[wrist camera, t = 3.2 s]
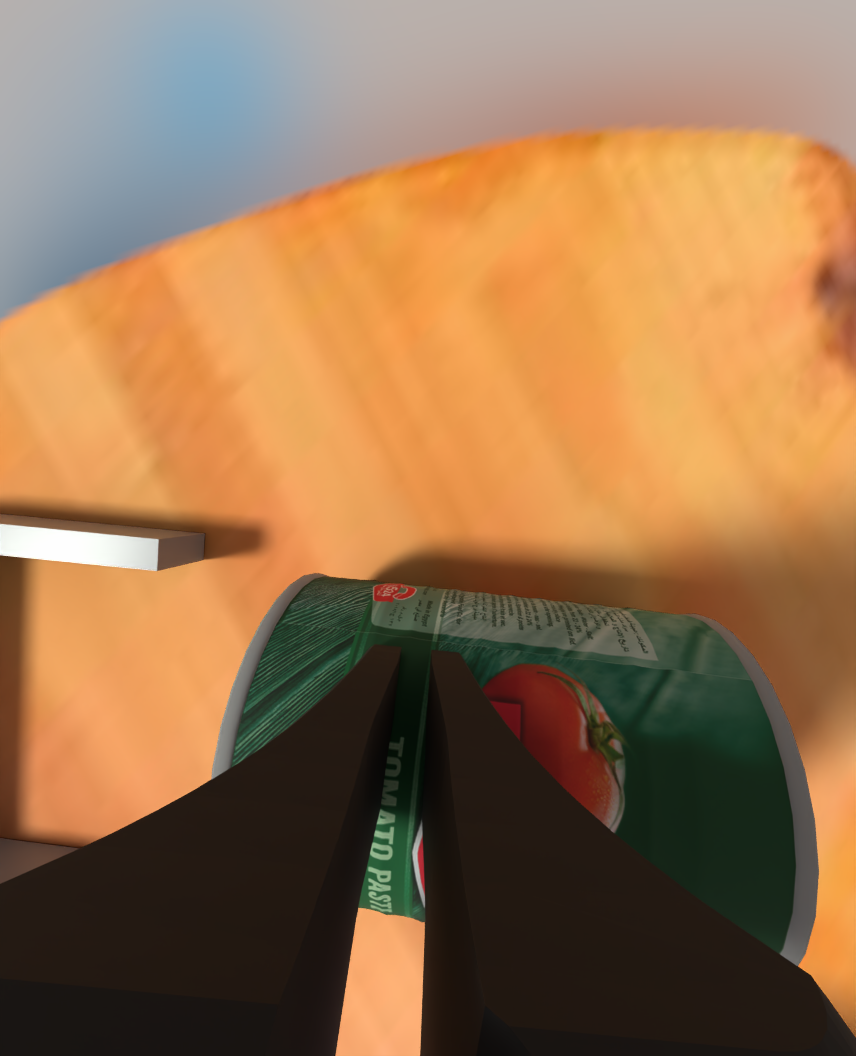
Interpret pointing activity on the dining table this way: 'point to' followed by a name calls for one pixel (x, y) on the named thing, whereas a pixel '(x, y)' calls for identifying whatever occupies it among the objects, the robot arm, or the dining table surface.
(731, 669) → the canned tomato
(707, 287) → the dining table surface
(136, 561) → the box
